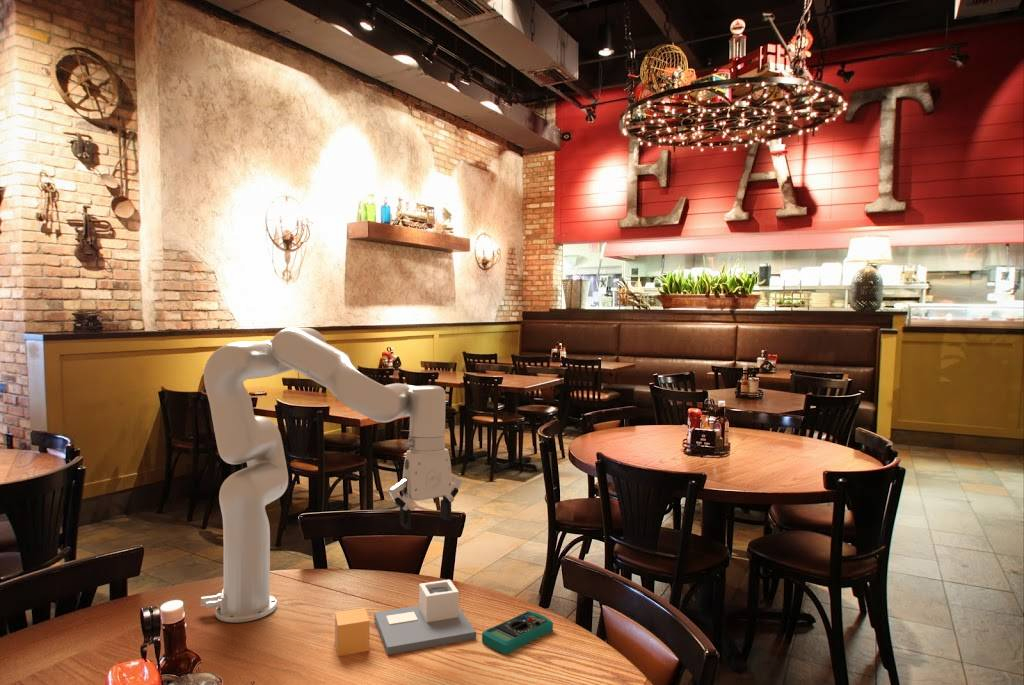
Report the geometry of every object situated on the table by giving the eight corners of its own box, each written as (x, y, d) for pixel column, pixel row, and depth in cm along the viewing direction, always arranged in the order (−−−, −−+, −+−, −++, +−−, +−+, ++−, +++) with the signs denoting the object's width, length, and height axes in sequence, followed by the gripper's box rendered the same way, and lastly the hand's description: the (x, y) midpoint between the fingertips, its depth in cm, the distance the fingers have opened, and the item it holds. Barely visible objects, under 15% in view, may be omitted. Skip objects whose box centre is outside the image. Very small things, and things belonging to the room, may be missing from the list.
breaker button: (431, 615, 131) (431, 597, 131) (426, 607, 135) (426, 589, 135) (451, 612, 133) (451, 594, 133) (445, 604, 137) (445, 586, 137)
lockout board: (387, 655, 119) (387, 619, 119) (374, 619, 134) (374, 587, 134) (475, 639, 126) (476, 605, 125) (454, 606, 140) (454, 576, 140)
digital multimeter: (555, 632, 130) (555, 618, 130) (505, 658, 119) (505, 642, 119) (529, 621, 135) (530, 607, 135) (480, 644, 124) (480, 630, 124)
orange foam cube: (337, 656, 118) (337, 625, 118) (334, 641, 124) (334, 612, 124) (369, 651, 121) (369, 620, 121) (364, 636, 126) (365, 607, 126)
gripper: (399, 450, 123) (397, 535, 124) (470, 442, 134) (469, 520, 134) (382, 444, 129) (381, 526, 129) (452, 437, 140) (450, 512, 140)
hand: (425, 523), depth 132 cm, fingers open, 9 cm apart
